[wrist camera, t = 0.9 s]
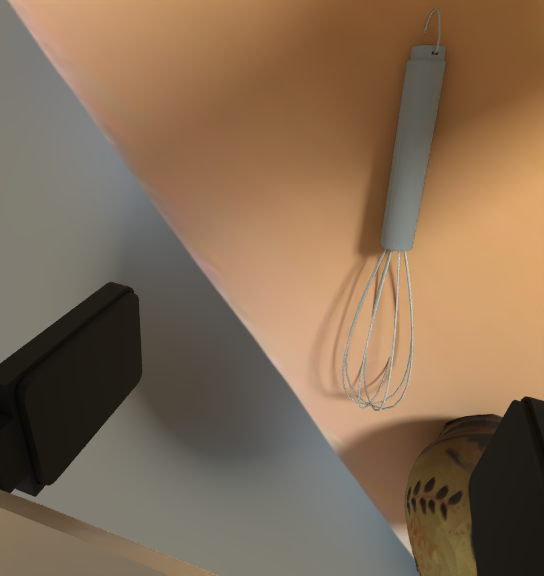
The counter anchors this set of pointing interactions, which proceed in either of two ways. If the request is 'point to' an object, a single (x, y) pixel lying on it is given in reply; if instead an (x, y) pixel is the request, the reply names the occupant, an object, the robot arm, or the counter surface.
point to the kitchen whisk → (407, 177)
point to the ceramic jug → (446, 498)
